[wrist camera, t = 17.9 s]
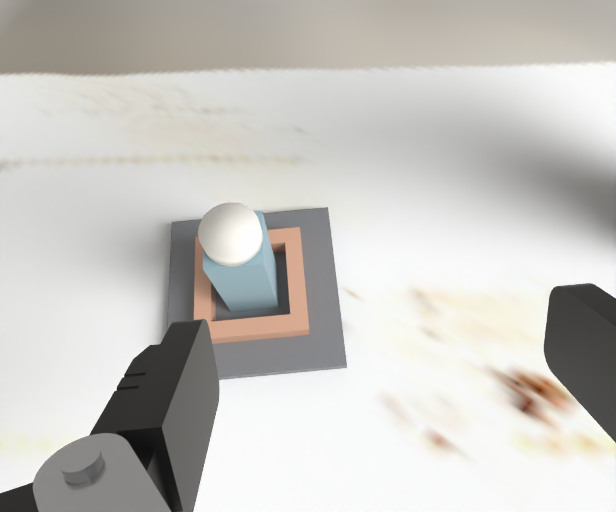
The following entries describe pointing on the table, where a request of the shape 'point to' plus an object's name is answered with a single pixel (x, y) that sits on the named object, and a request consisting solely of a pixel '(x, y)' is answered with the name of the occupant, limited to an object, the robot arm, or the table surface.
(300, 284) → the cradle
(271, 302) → the ball-topped blue post
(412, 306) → the table surface
